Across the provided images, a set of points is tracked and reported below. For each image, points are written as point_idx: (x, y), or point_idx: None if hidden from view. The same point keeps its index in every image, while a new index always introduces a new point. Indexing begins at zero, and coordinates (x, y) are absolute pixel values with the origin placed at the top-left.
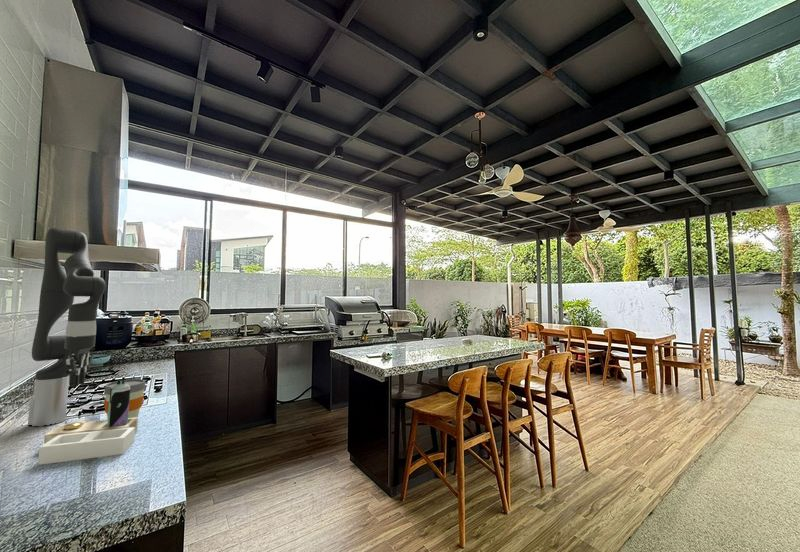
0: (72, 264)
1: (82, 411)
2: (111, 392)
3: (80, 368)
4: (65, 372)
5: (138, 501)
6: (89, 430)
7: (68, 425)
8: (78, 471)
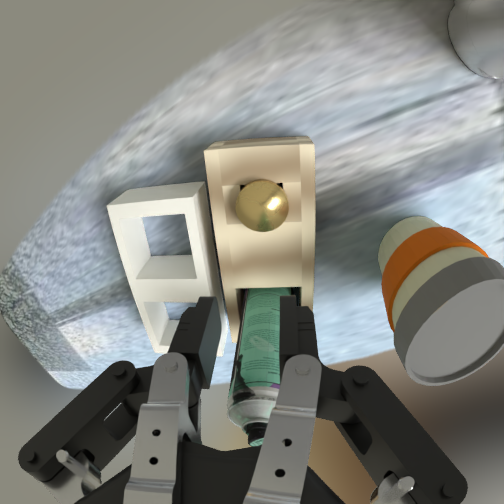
0: None
1: None
2: (232, 392)
3: (199, 435)
4: (99, 378)
5: (55, 363)
6: (220, 266)
7: (254, 196)
8: (100, 284)
